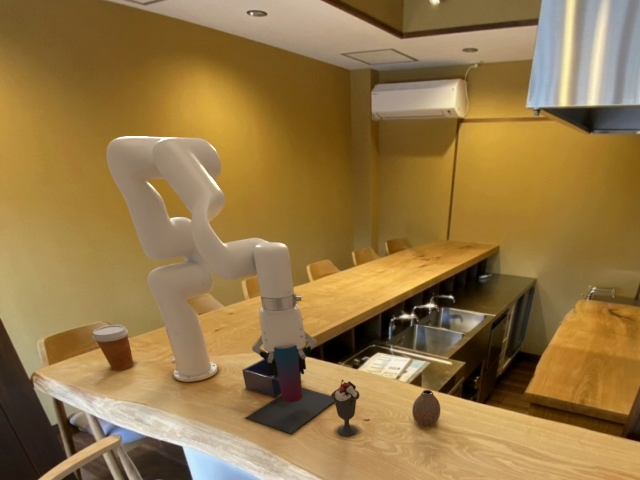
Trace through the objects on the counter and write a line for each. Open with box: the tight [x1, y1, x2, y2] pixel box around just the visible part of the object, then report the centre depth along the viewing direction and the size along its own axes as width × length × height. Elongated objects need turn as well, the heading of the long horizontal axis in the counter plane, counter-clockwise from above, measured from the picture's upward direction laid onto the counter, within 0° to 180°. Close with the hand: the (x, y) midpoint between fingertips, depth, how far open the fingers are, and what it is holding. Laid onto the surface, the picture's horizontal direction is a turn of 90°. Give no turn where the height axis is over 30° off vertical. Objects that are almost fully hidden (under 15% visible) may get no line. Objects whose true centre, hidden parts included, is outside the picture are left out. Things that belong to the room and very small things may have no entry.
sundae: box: [330, 379, 360, 438], centre depth 98 cm, size 7×7×15 cm
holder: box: [241, 358, 282, 399], centre depth 121 cm, size 11×11×6 cm
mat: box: [245, 387, 335, 435], centre depth 112 cm, size 15×20×1 cm
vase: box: [411, 389, 441, 428], centre depth 103 cm, size 7×7×9 cm
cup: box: [273, 345, 303, 402], centre depth 106 cm, size 7×7×15 cm
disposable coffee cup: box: [92, 324, 135, 371], centre depth 131 cm, size 10×10×12 cm
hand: (288, 372), depth 106 cm, fingers closed on cup, 6 cm apart
